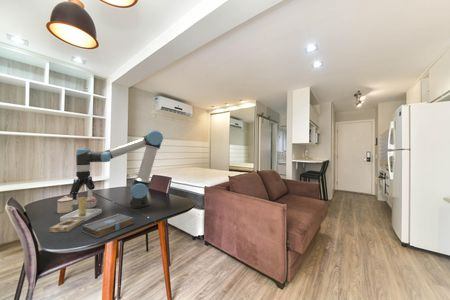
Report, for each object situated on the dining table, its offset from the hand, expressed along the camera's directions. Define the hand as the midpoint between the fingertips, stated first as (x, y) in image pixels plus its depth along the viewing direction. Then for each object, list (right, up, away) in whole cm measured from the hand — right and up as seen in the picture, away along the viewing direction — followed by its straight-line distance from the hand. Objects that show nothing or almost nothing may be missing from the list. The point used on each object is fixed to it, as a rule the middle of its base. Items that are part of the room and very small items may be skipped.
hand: (83, 201), depth 120 cm
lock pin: (-1, -10, 0) cm, 10 cm away
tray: (0, -11, 0) cm, 11 cm away
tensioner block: (+4, -11, -16) cm, 20 cm away
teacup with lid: (-23, -11, +11) cm, 28 cm away
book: (+28, -12, -15) cm, 34 cm away
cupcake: (-11, -11, +20) cm, 25 cm away
